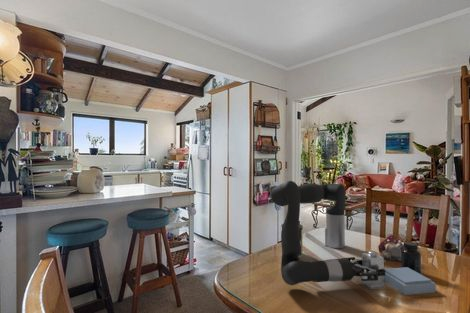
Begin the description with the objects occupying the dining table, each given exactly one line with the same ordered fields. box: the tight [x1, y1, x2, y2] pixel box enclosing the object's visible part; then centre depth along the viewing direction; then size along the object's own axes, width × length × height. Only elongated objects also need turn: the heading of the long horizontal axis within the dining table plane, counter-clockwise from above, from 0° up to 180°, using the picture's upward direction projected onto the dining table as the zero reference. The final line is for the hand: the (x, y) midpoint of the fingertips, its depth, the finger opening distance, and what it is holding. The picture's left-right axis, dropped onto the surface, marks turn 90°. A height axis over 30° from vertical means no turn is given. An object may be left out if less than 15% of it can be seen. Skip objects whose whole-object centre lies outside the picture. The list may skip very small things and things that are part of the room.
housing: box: [360, 250, 386, 290], centre depth 94 cm, size 6×6×12 cm
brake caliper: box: [377, 234, 404, 263], centre depth 117 cm, size 11×11×12 cm
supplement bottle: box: [400, 241, 423, 275], centre depth 103 cm, size 7×7×12 cm
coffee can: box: [281, 223, 304, 258], centre depth 125 cm, size 10×10×14 cm
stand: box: [384, 267, 436, 296], centre depth 94 cm, size 12×12×4 cm
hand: (376, 266), depth 94 cm, fingers open, 8 cm apart
